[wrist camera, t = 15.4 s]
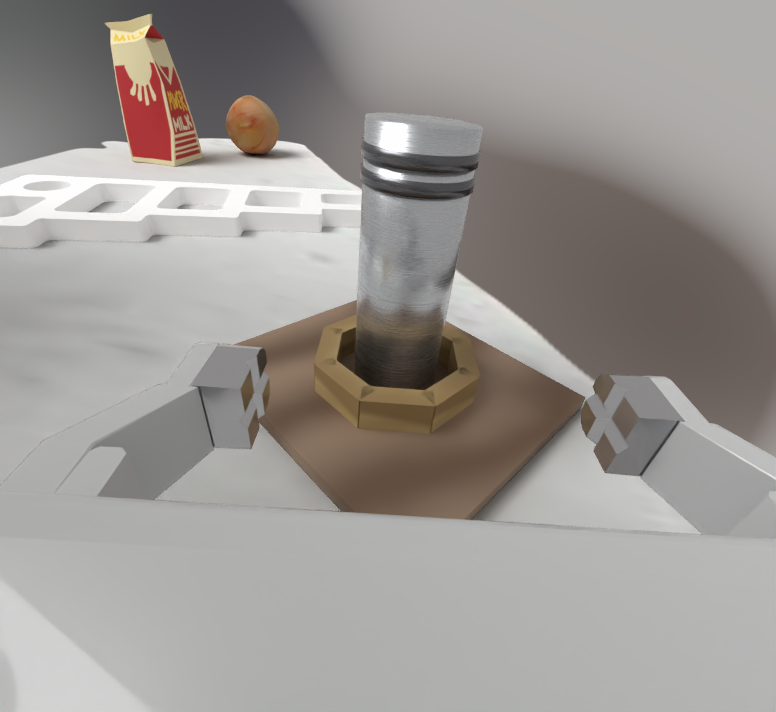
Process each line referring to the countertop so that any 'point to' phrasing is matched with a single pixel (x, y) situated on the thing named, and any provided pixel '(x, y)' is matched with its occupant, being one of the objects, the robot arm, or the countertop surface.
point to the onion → (252, 125)
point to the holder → (161, 209)
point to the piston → (409, 241)
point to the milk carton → (151, 96)
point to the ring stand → (406, 420)
